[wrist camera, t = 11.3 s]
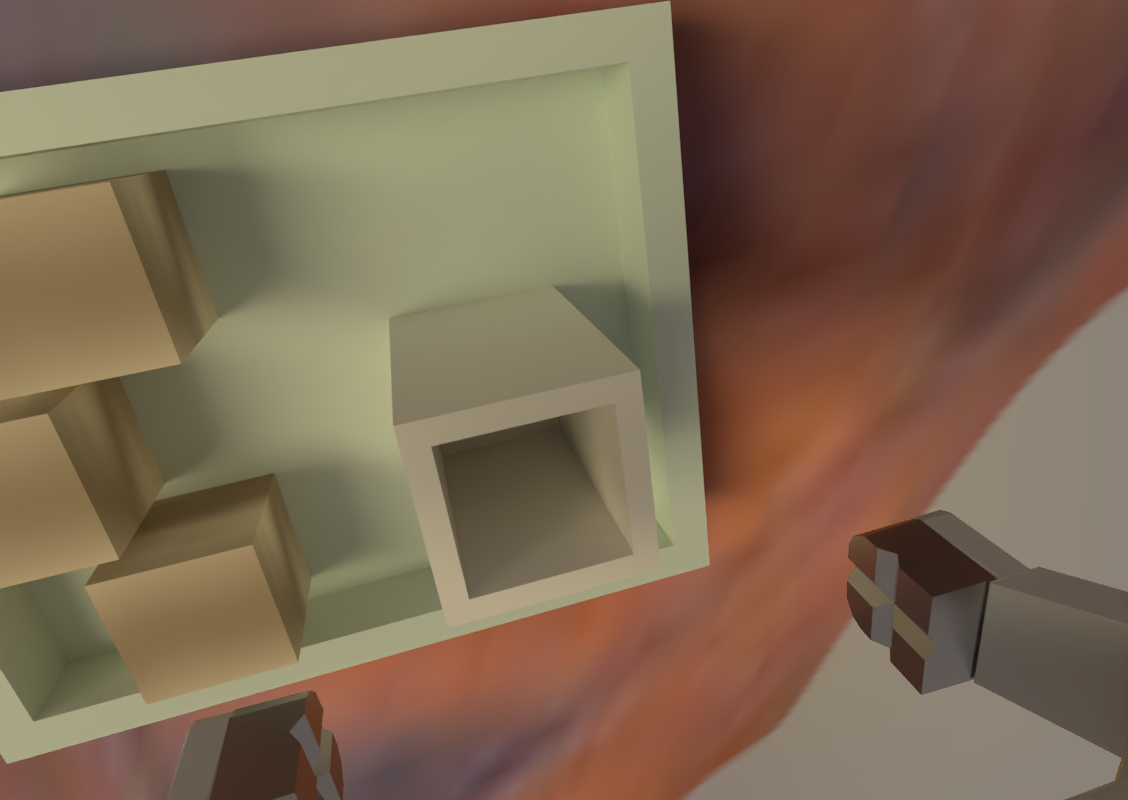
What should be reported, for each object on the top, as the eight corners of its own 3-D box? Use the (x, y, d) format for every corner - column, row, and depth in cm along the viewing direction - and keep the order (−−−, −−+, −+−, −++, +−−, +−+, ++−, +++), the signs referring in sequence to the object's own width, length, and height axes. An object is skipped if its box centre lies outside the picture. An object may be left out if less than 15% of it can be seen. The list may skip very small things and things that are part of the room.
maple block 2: (-51, 390, 18) (-157, 456, 15) (110, 358, 19) (47, 413, 15) (18, 516, 20) (-62, 603, 16) (165, 482, 21) (119, 559, 17)
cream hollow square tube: (388, 318, 20) (393, 426, 13) (552, 285, 21) (639, 369, 14) (426, 465, 22) (447, 628, 15) (574, 430, 23) (661, 569, 16)
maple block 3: (136, 505, 21) (84, 586, 17) (274, 473, 21) (251, 544, 18) (184, 610, 22) (146, 704, 19) (311, 577, 23) (298, 662, 19)
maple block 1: (-7, 196, 17) (-112, 216, 13) (164, 169, 18) (109, 181, 14) (63, 348, 19) (-13, 403, 15) (218, 318, 19) (181, 363, 16)
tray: (-252, 142, 16) (-407, 147, 13) (623, 19, 20) (670, 0, 17) (59, 674, 23) (7, 763, 20) (670, 511, 27) (709, 565, 24)
